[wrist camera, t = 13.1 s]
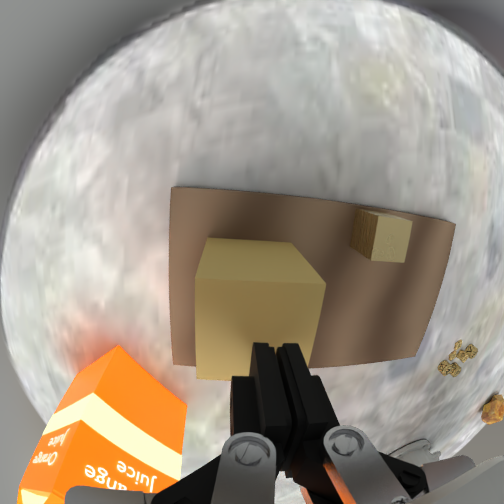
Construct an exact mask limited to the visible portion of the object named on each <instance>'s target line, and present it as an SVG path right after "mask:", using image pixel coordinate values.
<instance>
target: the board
mask: <svg viewBox="0 0 504 504" xmlns="http://www.w3.org/2000/svg"><path fill="white" fill-rule="evenodd" d="M356 208H357V209H364V210H370V211H377V212H383V213H388V214H391V215H395V216H398V217H401V218H404V219H407V220H410V221H413V222H412V228H411V233H410V238H409V243H408V248H407V253H406V257H405V261H404V263H400V262H385V261H371V260H369V259H368V258H366V257H365V256H363V255H362V254H360V253H359V252H357V251H356V250H354V249H353V248H351V247H350V243H351V237H352V231H353V225H354V218H355V212H356ZM455 226H456V224H454V223H451V222H448V221H444V220H440V219H435V218H430V217H425V216H420V215H415V214H410V213H405V212H399V211H394V210H388V209H383V208H377V207H371V206H364V205H358V204H351V203H345V202H338V201H331V200H323V199H315V198H307V197H299V196H290V195H281V194H271V193H261V192H250V191H238V190H225V189H210V188H193V187H172V188H171V200H170V224H169V300H170V325H171V342H172V355H173V364H174V365H184V366H196V346H195V276H196V273H197V269H198V266H199V263H200V260H201V256H202V253H203V250H204V247H205V244H206V241H207V238H224V239H241V240H257V241H273V242H288V243H292V244H293V245H294V246H295V248H296V249H297V250H298V251H299V252H300V253H301V254H302V256H303V257H304V258H305V259H306V260H307V261H308V263H309V264H310V265H311V266H312V267H313V268H314V270H315V271H316V272H317V273H318V274H319V276H320V277H321V278H322V279H323V280H324V281H325V283H326V288H325V293H324V298H323V303H322V308H321V313H320V317H319V322H318V326H317V331H316V335H315V340H314V344H313V348H312V352H311V356H310V360H309V364H308V368H324V367H337V366H349V365H358V364H367V363H375V362H383V361H390V360H396V359H403V358H408V357H414V356H415V355H416V353H417V351H418V349H419V346H420V344H421V341H422V339H423V337H424V334H425V331H426V329H427V326H428V324H429V321H430V318H431V315H432V313H433V310H434V307H435V304H436V301H437V298H438V295H439V291H440V288H441V285H442V281H443V278H444V274H445V270H446V267H447V263H448V259H449V255H450V250H451V246H452V241H453V236H454V231H455Z"/></svg>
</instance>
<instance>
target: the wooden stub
mask: <svg viewBox="0 0 504 504" xmlns="http://www.w3.org/2000/svg"><path fill="white" fill-rule="evenodd" d="M412 222H413V221H410V220H407V219H404V218H401V217H398V216H395V215H391V214H388V213H383V212H377V211H370V210H364V209H357V208H356V212H355V218H354V225H353V231H352V237H351V243H350V247H351V248H353V249H354V250H356V251H357V252H359V253H360V254H362V255H363V256H365V257H366V258H368V259H369V260H371V261H385V262H400V263H404V261H405V257H406V253H407V248H408V243H409V238H410V233H411V228H412Z"/></svg>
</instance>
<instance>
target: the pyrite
mask: <svg viewBox="0 0 504 504" xmlns="http://www.w3.org/2000/svg"><path fill="white" fill-rule="evenodd" d="M503 415H504V399H503V397H502V395H494V396H493V398H492V399H491V401H490V402H489V403H488V404H485V405H484V407H483V412H482V416H481V418H482V421H484V422H485V423H487V424H488V425H490V424H493V423H496V422H498V421H501V420H502V419H503Z"/></svg>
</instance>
